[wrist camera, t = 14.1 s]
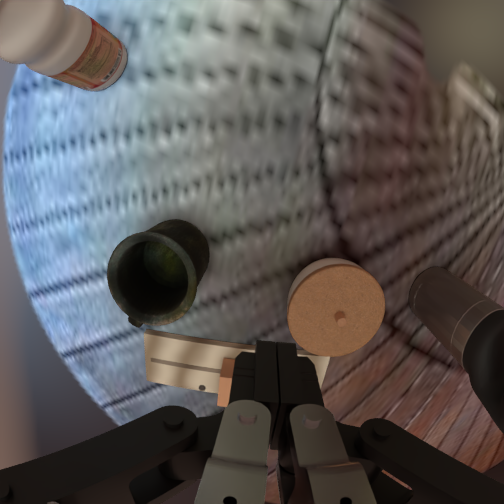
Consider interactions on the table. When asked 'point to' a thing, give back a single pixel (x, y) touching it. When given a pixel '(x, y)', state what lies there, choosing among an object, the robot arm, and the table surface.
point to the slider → (225, 382)
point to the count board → (199, 360)
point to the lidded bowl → (334, 307)
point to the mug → (158, 272)
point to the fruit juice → (60, 43)
